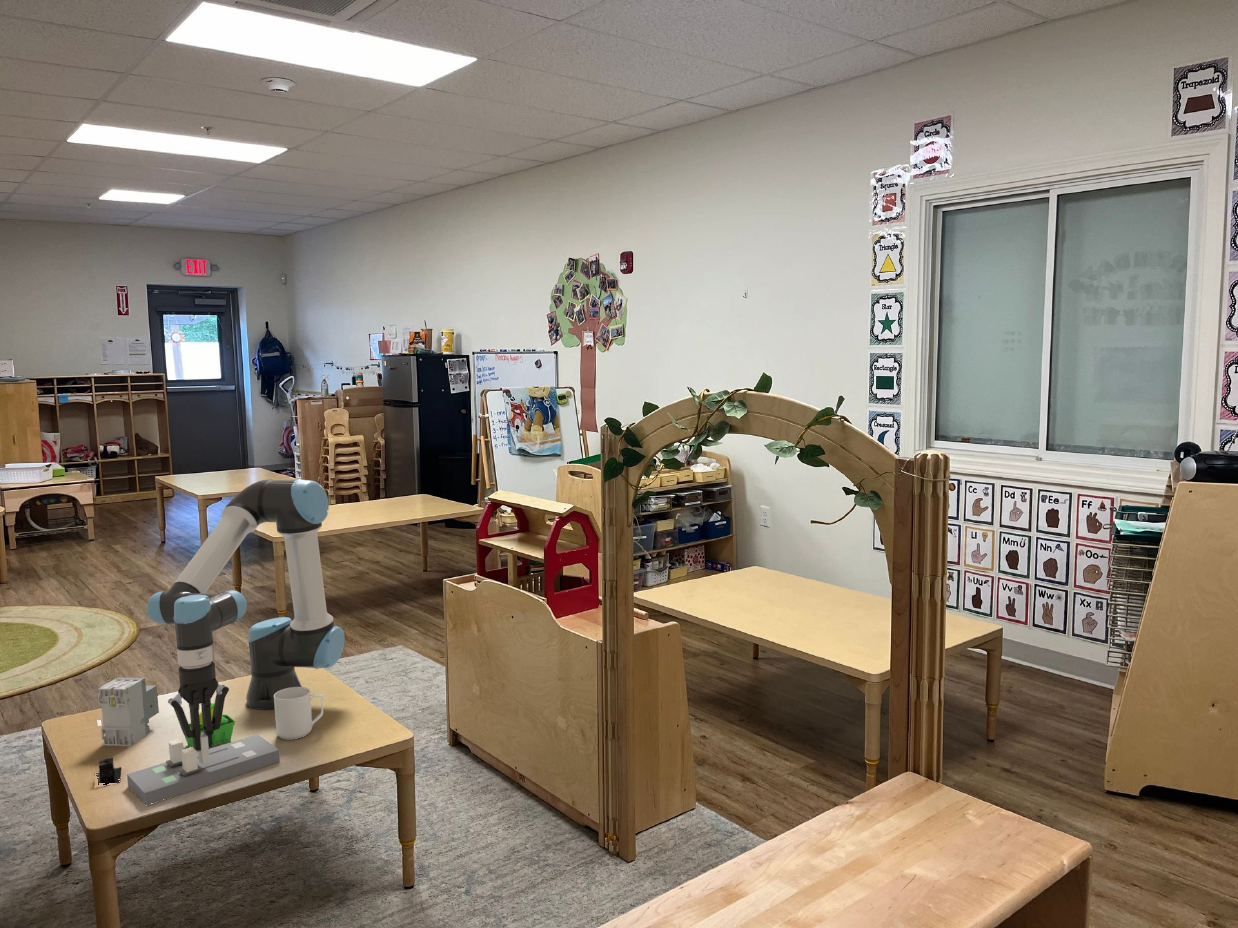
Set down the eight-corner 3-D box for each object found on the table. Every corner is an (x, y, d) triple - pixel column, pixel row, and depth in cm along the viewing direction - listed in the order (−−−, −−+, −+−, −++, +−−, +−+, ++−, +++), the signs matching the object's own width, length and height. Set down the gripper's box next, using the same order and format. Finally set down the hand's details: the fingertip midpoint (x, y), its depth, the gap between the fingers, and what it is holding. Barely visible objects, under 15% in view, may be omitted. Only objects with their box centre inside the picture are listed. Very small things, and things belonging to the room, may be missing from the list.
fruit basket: (227, 731, 235) (224, 690, 234) (239, 741, 229) (236, 699, 227) (181, 745, 228) (177, 702, 226) (192, 755, 221) (189, 712, 220)
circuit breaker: (163, 723, 242) (159, 669, 240) (130, 745, 228) (125, 689, 226) (137, 722, 242) (133, 669, 241) (102, 745, 228) (97, 688, 226)
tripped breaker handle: (197, 765, 208) (195, 745, 207) (202, 770, 205) (200, 749, 205) (178, 771, 205) (177, 750, 204) (183, 775, 203) (181, 754, 202)
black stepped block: (91, 772, 214) (90, 754, 214) (126, 765, 218) (124, 747, 217) (89, 794, 203) (87, 775, 203) (125, 786, 207) (124, 768, 206)
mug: (276, 743, 227) (274, 701, 226) (276, 730, 235) (273, 689, 234) (326, 735, 231) (323, 694, 230) (323, 722, 240) (321, 682, 238)
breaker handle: (184, 757, 212) (182, 737, 212) (188, 761, 210) (187, 741, 209) (166, 762, 210) (164, 742, 209) (170, 767, 207) (168, 746, 207)
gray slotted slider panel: (258, 745, 226) (257, 733, 226) (279, 761, 217) (279, 749, 216) (128, 786, 205) (127, 773, 205) (145, 805, 196) (144, 792, 196)
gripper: (171, 674, 197) (180, 776, 200) (231, 660, 206) (239, 757, 209) (160, 666, 203) (169, 766, 205) (219, 653, 212) (226, 748, 214)
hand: (204, 761), depth 207 cm, fingers closed
